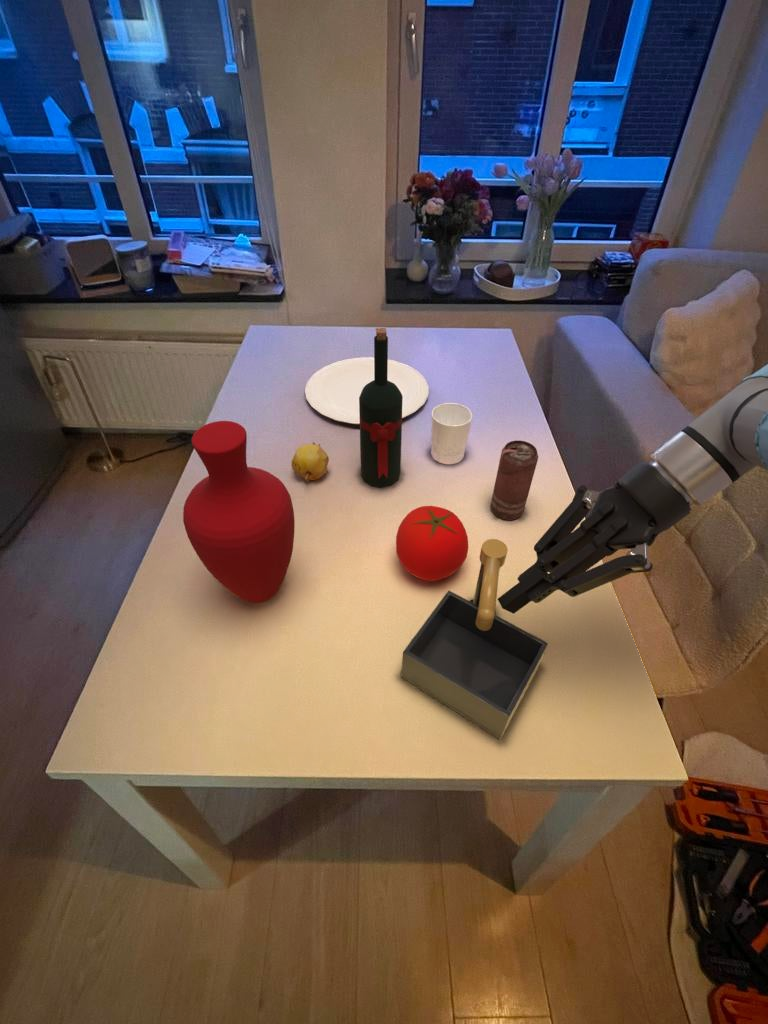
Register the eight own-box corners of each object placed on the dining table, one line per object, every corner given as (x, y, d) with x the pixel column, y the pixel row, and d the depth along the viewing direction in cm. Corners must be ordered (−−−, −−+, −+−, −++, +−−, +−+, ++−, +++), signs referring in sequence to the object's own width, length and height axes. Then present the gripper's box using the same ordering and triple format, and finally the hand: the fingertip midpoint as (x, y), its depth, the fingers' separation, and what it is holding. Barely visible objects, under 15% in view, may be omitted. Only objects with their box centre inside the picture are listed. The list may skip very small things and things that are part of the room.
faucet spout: (480, 552, 74) (483, 536, 71) (504, 556, 73) (508, 541, 71) (468, 628, 65) (472, 613, 62) (496, 633, 64) (501, 618, 62)
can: (483, 502, 99) (494, 442, 89) (513, 495, 100) (528, 436, 90) (497, 524, 95) (511, 464, 85) (529, 517, 96) (546, 457, 86)
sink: (500, 740, 67) (509, 717, 63) (401, 677, 73) (402, 652, 69) (537, 668, 74) (548, 642, 70) (444, 616, 81) (448, 590, 76)
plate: (344, 353, 139) (344, 346, 137) (447, 380, 129) (447, 373, 128) (281, 409, 120) (279, 402, 119) (395, 444, 111) (395, 437, 110)
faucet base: (486, 633, 78) (500, 580, 69) (457, 618, 80) (467, 564, 71) (500, 611, 81) (515, 557, 72) (472, 597, 83) (483, 542, 74)
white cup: (431, 467, 106) (435, 426, 99) (425, 443, 111) (428, 403, 104) (469, 465, 106) (476, 424, 99) (462, 442, 112) (467, 401, 105)
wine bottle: (362, 496, 99) (357, 350, 78) (360, 462, 107) (355, 320, 86) (403, 494, 100) (410, 348, 79) (398, 460, 107) (403, 318, 86)
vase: (192, 605, 82) (126, 453, 61) (247, 541, 91) (207, 391, 70) (272, 640, 77) (233, 489, 56) (321, 568, 87) (303, 417, 66)
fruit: (324, 470, 96) (336, 437, 103) (287, 459, 95) (301, 427, 102) (318, 495, 101) (329, 462, 108) (283, 485, 100) (297, 452, 107)
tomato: (469, 591, 84) (477, 548, 77) (396, 592, 84) (397, 548, 76) (460, 536, 92) (467, 492, 85) (394, 536, 92) (395, 493, 85)
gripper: (721, 536, 56) (544, 657, 64) (645, 462, 64) (499, 576, 73) (700, 510, 51) (512, 643, 59) (622, 433, 60) (468, 559, 68)
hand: (505, 606), depth 66 cm, fingers closed
